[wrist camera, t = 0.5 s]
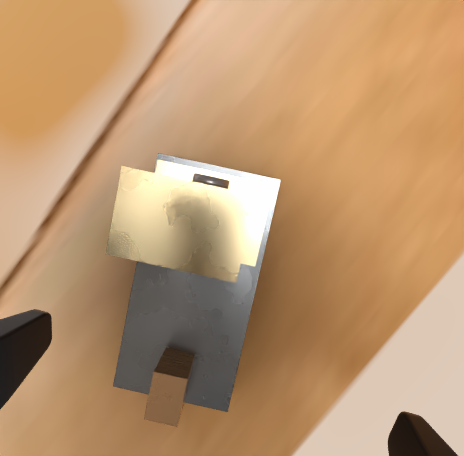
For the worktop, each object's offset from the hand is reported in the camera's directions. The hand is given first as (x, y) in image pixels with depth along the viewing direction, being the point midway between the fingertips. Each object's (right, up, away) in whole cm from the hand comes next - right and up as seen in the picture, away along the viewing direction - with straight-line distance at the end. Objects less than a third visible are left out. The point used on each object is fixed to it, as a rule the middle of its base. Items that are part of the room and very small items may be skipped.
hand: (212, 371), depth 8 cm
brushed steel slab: (-2, 0, +15) cm, 15 cm away
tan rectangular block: (-1, +5, +13) cm, 13 cm away
